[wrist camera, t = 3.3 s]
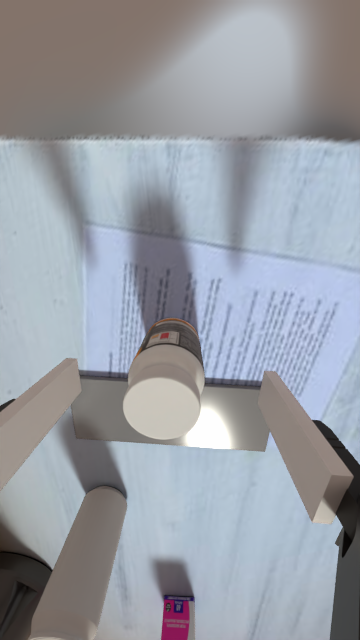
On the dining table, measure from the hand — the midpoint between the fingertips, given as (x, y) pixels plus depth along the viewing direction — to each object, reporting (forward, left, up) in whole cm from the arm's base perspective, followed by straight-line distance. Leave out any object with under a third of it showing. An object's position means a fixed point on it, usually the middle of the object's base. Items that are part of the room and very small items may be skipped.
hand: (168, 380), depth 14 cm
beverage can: (-9, -26, -8) cm, 29 cm away
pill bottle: (0, 0, -8) cm, 8 cm away
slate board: (0, -10, -7) cm, 12 cm away
